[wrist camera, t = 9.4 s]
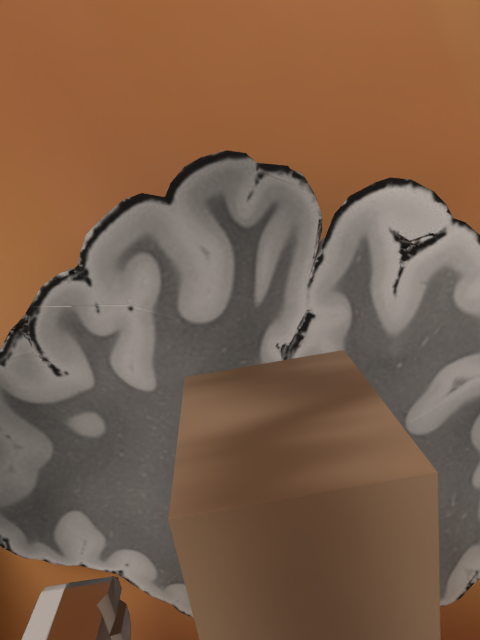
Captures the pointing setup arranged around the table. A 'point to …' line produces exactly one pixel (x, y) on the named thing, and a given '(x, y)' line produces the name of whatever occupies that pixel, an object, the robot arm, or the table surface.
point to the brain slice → (232, 353)
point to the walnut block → (303, 507)
